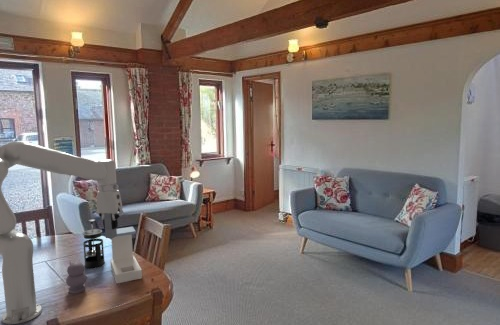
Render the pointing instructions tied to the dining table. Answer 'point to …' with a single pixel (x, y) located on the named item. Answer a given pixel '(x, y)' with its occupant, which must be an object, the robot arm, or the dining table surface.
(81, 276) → the cat figurine
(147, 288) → the dining table surface
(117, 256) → the white dispenser with tray
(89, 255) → the french press
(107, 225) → the peg
